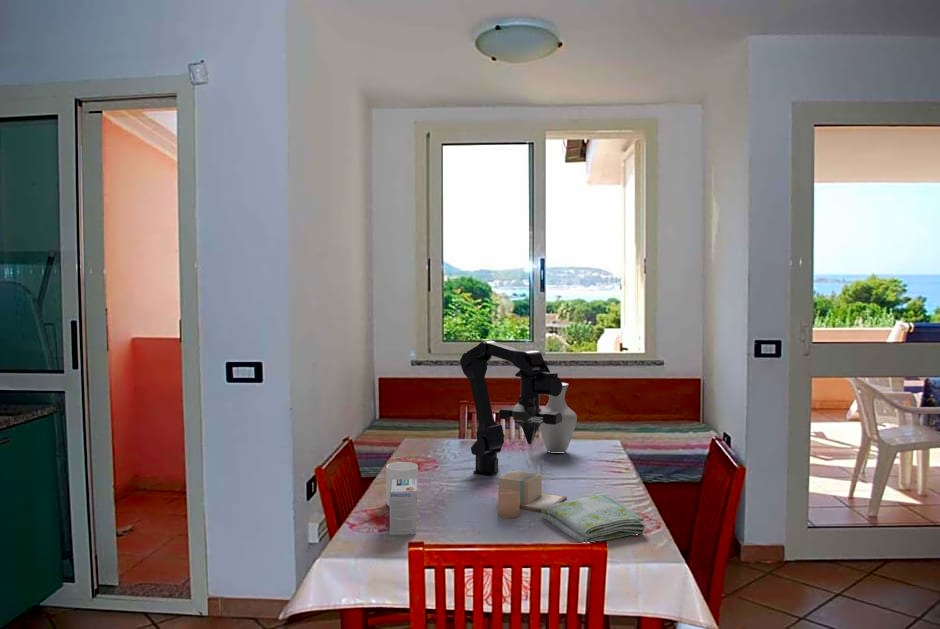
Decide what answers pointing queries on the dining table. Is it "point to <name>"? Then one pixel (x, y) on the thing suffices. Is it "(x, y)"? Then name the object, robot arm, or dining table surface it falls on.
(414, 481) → the light bulb box
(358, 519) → the dining table surface
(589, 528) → the towel
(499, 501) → the wooden cylinder
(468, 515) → the dining table surface
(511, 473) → the carton
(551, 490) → the dining table surface
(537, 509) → the picture frame
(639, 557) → the dining table surface
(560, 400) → the vase
